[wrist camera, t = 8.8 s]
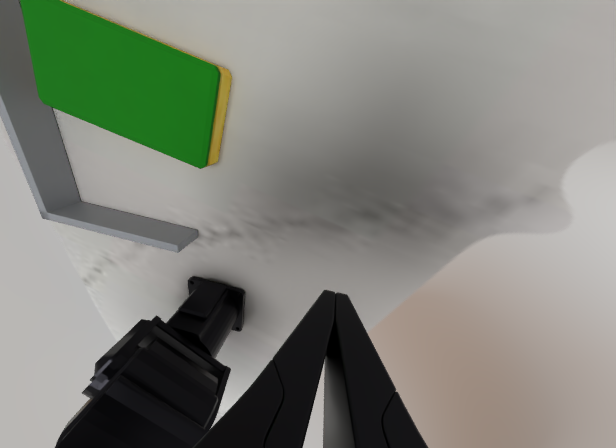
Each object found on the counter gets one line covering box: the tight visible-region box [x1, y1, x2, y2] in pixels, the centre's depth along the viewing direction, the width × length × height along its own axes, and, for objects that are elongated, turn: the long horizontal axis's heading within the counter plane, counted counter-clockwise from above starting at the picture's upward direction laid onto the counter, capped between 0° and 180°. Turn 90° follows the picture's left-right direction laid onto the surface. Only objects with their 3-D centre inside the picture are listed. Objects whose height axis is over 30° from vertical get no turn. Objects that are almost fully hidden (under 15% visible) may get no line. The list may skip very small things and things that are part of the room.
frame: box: [0, 0, 198, 253], centre depth 17 cm, size 23×14×3 cm, turn 170°
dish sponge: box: [20, 0, 232, 169], centre depth 17 cm, size 7×14×2 cm, turn 70°
